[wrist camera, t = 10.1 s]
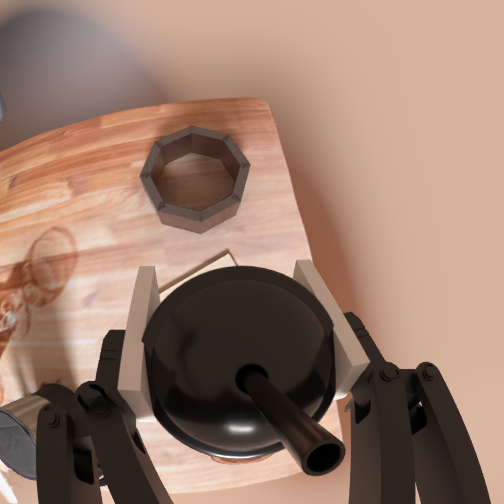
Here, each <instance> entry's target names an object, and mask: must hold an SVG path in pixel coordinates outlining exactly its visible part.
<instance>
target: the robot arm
mask: <svg viewBox="0 0 504 504" xmlns="http://www.w3.org/2000/svg"><path fill="white" fill-rule="evenodd" d="M5 114H6V106H5V103H4V101H3V98H2V96H1V93H0V122H1V121H2V120H3V119H4V117H5ZM293 279H294V280H295V281H297V282H299V283H300V284H302V285H303V286H304V287H306V288H307V289H308V290H309V291H310V292H311V293H313V294H314V295H315V296H316V298H317V299H318V300H319V301H320V302H321V303H322V305H323V306H324V307H325V309H326V310H327V312H328V314H329V315H330V317H331V319H332V321H333V323H334V327H333V335H334V349H335V369H336V394H335V396H334V399H333V400H337V399H340V398H344V397H346V396H347V394H348V393H349V392H350V391H351V393H352V395H353V398H352V399H351V400H350V401H349V403H348V404H347V405H346V407H345V412H346V411H347V410H348V409H349V408H350V409H351V410H350V412H351V472H350V493H349V504H415V482H416V486H417V490H418V493H419V497H420V501H421V504H491V502H490V498H489V494H488V490H487V486H486V483H485V479H484V476H483V473H482V470H481V467H480V464H479V461H478V458H477V455H476V452H475V450H474V447H473V444H472V441H471V439H470V436H469V434H468V431H467V429H466V427H465V424H464V422H463V419H462V417H461V415H460V413H459V410H458V408H457V406H456V404H455V402H454V400H453V397H452V395H451V393H450V391H449V389H448V387H447V385H446V383H445V381H444V379H443V377H442V375H441V373H440V371H439V370H438V368H437V367H436V366H434V364H432V363H429V362H423V363H420V364H419V365H418V367H417V368H416V369H399V368H398V367H397V366H396V365H395V364H393V363H391V362H386V361H385V360H384V358H383V356H382V354H381V353H380V351H379V349H378V348H377V346H376V344H375V343H374V341H373V340H372V338H371V336H369V333H368V331H367V330H366V329H365V326H364V325H363V323H362V321H361V320H360V319H359V318H358V317H357V316H356V315H355V314H353V313H352V312H347V313H342V311H341V310H340V308H339V306H338V305H337V303H336V301H335V300H334V298H333V297H332V295H331V293H330V291H329V290H328V288H327V286H326V285H325V283H324V281H323V280H322V278H321V277H320V275H319V273H318V272H317V270H316V268H315V267H314V265H313V264H312V262H311V260H296V264H295V269H294V274H293ZM160 303H161V301H160V296H159V290H158V284H157V278H156V272H155V266H141V267H139V271H138V275H137V279H136V283H135V288H134V292H133V297H132V301H131V306H130V311H129V316H128V321H127V327H126V330H109V332H108V333H107V335H106V336H105V338H104V339H103V343H102V348H101V353H100V360H99V363H98V368H97V373H96V379H95V381H87V382H85V383H83V384H81V385H80V386H79V387H78V388H77V390H76V392H75V395H74V402H75V403H76V404H77V405H78V406H75V407H70V408H64V409H63V408H62V407H60V406H59V405H58V404H54V403H49V404H46V405H44V406H43V407H42V408H41V409H40V411H39V413H38V417H37V430H36V479H37V492H38V501H39V504H103V503H102V497H101V491H100V484H99V476H98V468H97V459H98V462H99V465H100V467H101V470H102V473H103V476H104V478H105V481H106V483H107V486H108V488H109V491H110V493H111V495H112V498H113V500H114V502H115V504H174V503H173V502H172V500H171V498H170V496H169V495H168V493H167V491H166V489H165V487H164V485H163V484H162V482H161V480H160V478H159V476H158V474H157V472H156V470H155V468H154V466H153V463H152V461H151V459H150V457H149V455H148V452H147V450H146V448H145V446H144V443H143V441H142V438H141V436H140V434H139V431H138V429H137V428H136V418H137V419H138V420H139V422H158V420H157V419H156V418H155V416H154V414H153V410H152V404H151V398H150V392H149V385H148V378H147V370H146V361H145V352H144V343H142V342H141V339H142V336H143V333H144V330H145V328H146V325H147V323H148V321H149V319H150V318H151V316H152V314H153V313H154V311H155V310H156V308H157V307H158V306H159V304H160ZM420 401H421V403H422V406H421V405H420V404H419V402H420ZM96 456H97V457H96Z"/></svg>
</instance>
